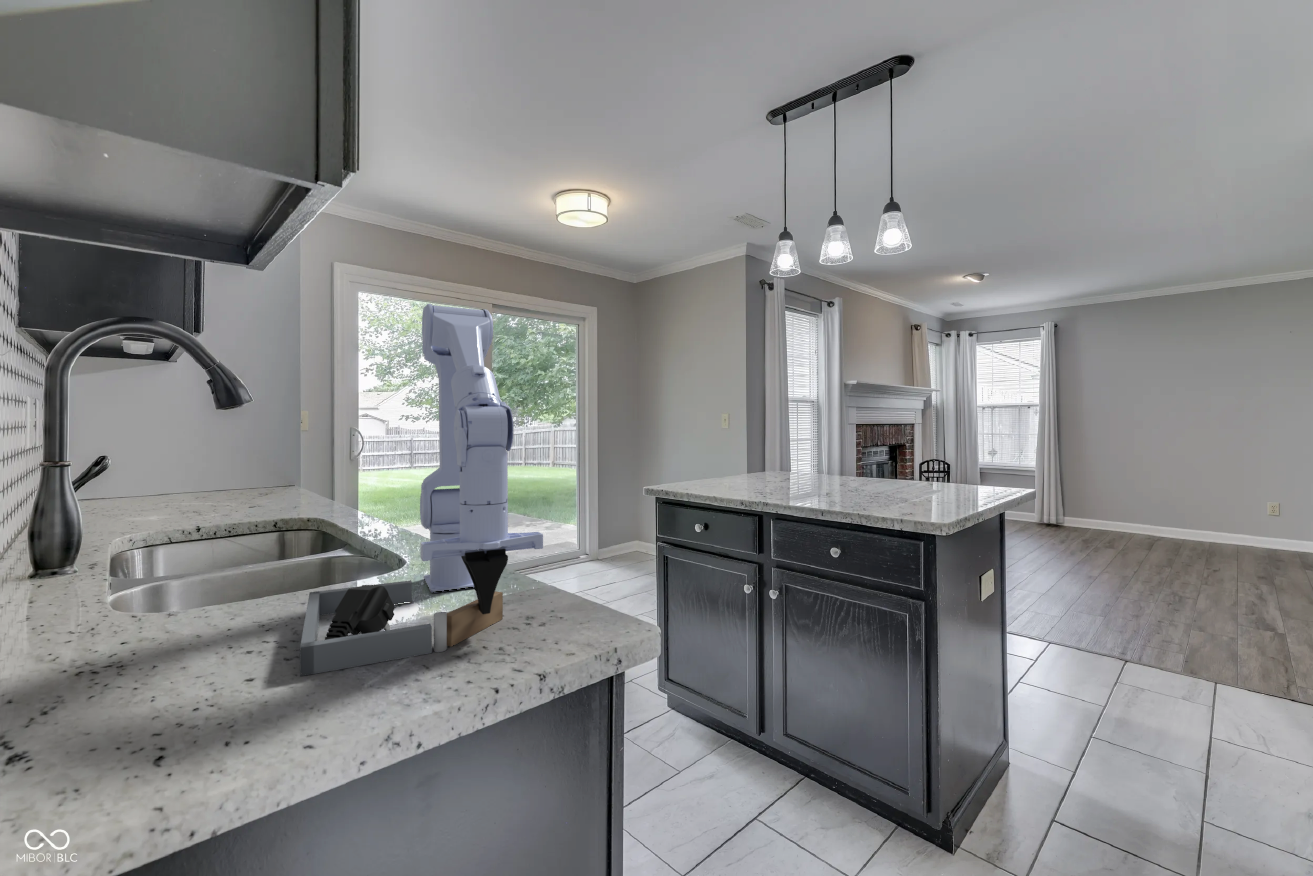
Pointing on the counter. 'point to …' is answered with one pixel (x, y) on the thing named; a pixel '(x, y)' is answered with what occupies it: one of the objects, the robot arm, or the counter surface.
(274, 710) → the counter surface
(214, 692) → the counter surface
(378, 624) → the power plug
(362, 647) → the grey rectangular frame
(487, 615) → the gate
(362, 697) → the counter surface
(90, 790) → the counter surface
